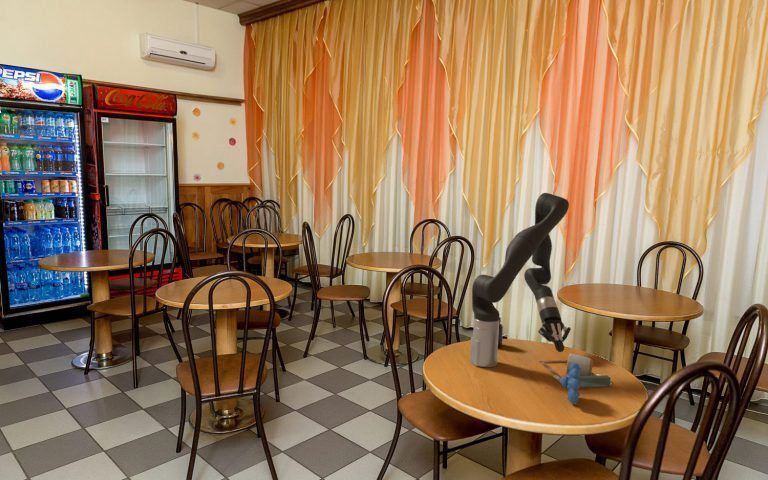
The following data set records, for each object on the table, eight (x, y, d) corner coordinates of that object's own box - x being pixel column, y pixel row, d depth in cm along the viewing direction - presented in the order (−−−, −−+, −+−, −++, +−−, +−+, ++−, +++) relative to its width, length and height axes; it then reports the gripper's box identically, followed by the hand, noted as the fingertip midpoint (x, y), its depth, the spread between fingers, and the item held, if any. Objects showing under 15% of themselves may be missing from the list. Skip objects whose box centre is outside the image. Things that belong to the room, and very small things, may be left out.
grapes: (558, 391, 160) (560, 355, 159) (580, 394, 158) (582, 358, 157) (558, 406, 150) (560, 368, 148) (581, 410, 147) (584, 372, 146)
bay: (536, 362, 186) (536, 354, 185) (578, 360, 188) (578, 353, 188) (565, 387, 163) (566, 379, 163) (613, 386, 165) (614, 377, 165)
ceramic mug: (590, 382, 168) (592, 360, 167) (565, 377, 172) (567, 356, 171) (592, 372, 177) (594, 351, 177) (568, 368, 181) (570, 347, 180)
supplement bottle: (504, 344, 205) (505, 316, 203) (498, 349, 199) (500, 320, 198) (488, 341, 208) (490, 314, 207) (482, 346, 203) (484, 317, 201)
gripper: (535, 306, 191) (548, 347, 180) (567, 305, 192) (581, 346, 182) (529, 315, 197) (540, 355, 186) (560, 315, 198) (573, 355, 188)
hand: (561, 351), depth 184 cm, fingers closed
